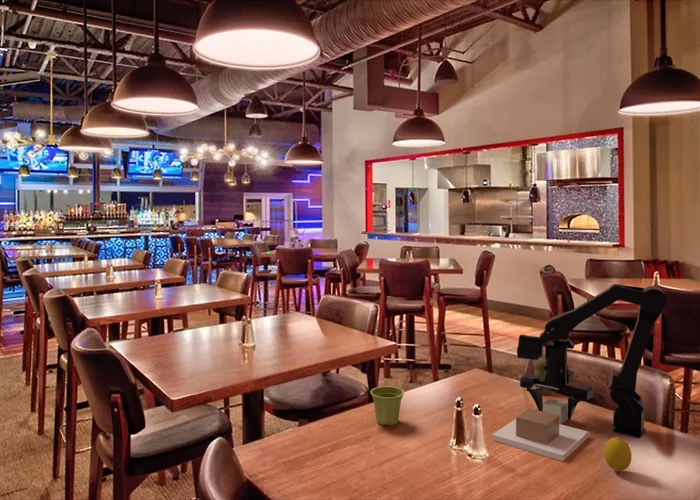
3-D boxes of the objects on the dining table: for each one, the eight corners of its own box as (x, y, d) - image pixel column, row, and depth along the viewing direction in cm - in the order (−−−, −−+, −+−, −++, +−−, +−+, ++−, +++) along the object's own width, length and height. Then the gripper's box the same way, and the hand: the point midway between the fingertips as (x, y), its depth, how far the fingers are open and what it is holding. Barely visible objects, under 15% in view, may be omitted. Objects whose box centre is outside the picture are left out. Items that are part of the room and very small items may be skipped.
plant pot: (411, 422, 149) (411, 392, 148) (385, 431, 143) (385, 399, 142) (389, 413, 156) (388, 384, 155) (364, 420, 150) (363, 390, 150)
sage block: (567, 419, 150) (567, 402, 150) (560, 425, 146) (560, 407, 146) (549, 415, 153) (549, 398, 153) (542, 420, 150) (542, 403, 149)
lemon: (628, 467, 121) (629, 433, 121) (632, 479, 116) (633, 443, 116) (602, 464, 123) (602, 430, 123) (605, 475, 118) (606, 440, 117)
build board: (588, 437, 138) (588, 412, 138) (562, 461, 125) (563, 434, 124) (522, 419, 150) (522, 397, 150) (492, 440, 137) (492, 415, 136)
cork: (554, 395, 170) (554, 361, 169) (535, 395, 170) (535, 362, 169) (547, 389, 176) (548, 356, 175) (529, 389, 176) (529, 357, 175)
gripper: (600, 361, 149) (598, 416, 150) (535, 350, 161) (534, 401, 162) (586, 370, 140) (585, 428, 141) (519, 358, 153) (518, 411, 154)
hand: (555, 416), depth 150 cm, fingers open, 8 cm apart
